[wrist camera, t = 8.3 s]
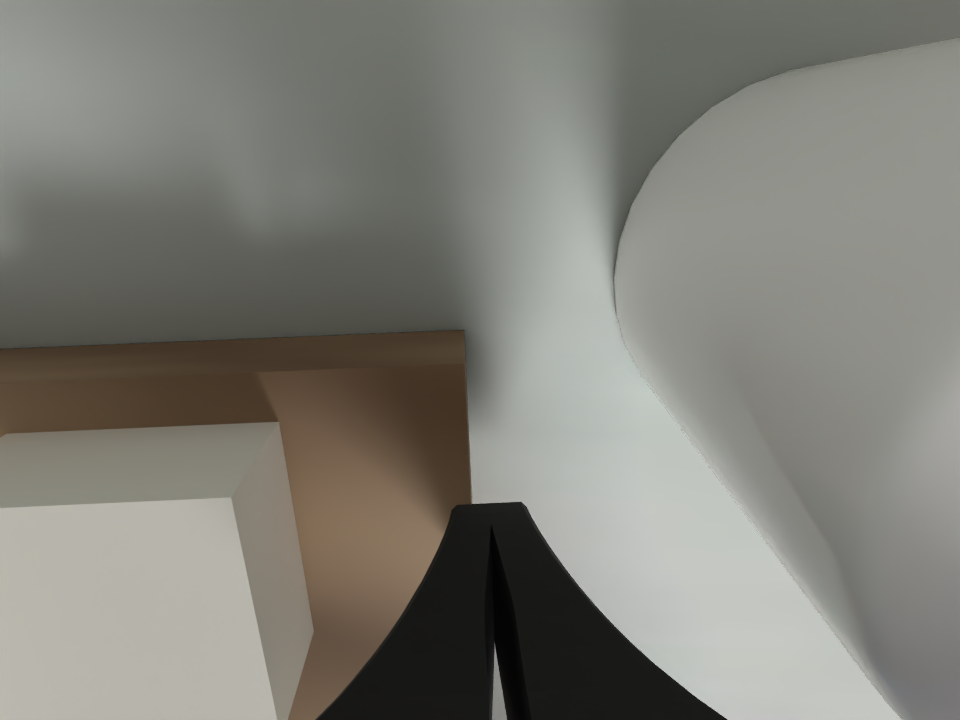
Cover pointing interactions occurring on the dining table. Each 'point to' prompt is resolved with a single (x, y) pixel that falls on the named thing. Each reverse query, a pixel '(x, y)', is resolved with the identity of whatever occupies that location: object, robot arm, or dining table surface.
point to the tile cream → (150, 575)
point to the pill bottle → (823, 340)
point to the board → (297, 453)
